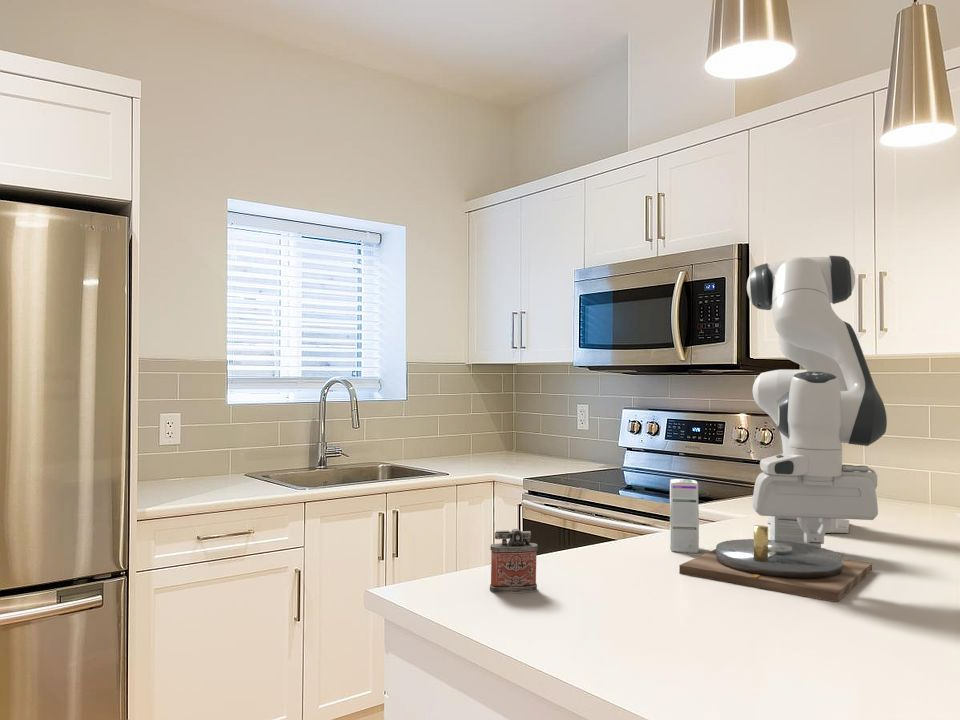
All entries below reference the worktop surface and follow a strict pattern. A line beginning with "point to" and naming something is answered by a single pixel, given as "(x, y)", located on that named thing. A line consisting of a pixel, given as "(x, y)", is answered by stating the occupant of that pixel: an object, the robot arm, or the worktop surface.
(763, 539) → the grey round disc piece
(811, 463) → the robot arm
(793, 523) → the supplement box
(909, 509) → the worktop surface
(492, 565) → the lighter
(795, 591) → the stand plate
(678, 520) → the syrup box
